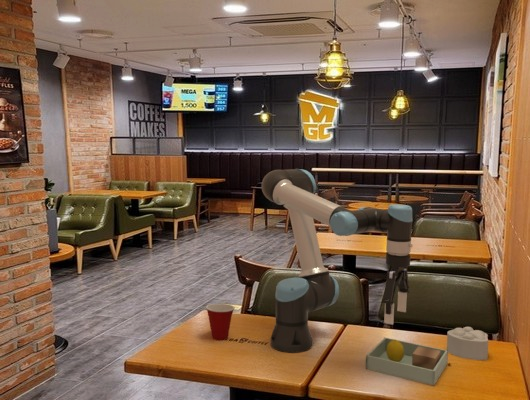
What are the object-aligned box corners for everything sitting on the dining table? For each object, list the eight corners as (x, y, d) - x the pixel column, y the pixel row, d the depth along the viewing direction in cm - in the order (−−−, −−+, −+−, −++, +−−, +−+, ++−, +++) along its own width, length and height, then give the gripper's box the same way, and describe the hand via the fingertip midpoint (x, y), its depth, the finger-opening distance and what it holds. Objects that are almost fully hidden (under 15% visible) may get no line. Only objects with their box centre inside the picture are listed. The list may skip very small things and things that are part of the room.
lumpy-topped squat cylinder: (487, 363, 164) (489, 338, 163) (446, 357, 169) (447, 332, 168) (486, 351, 173) (487, 327, 173) (447, 346, 178) (447, 322, 177)
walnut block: (411, 372, 156) (412, 353, 155) (417, 363, 162) (418, 346, 161) (434, 377, 152) (435, 358, 152) (439, 369, 158) (440, 350, 157)
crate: (365, 370, 158) (366, 355, 158) (384, 351, 173) (384, 337, 173) (433, 387, 147) (434, 371, 146) (447, 365, 162) (447, 350, 162)
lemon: (404, 367, 159) (404, 343, 158) (386, 366, 160) (387, 342, 159) (403, 360, 164) (403, 336, 164) (385, 359, 165) (386, 336, 165)
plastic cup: (240, 335, 188) (240, 304, 187) (223, 344, 179) (223, 312, 178) (218, 329, 194) (217, 300, 192) (200, 338, 185) (199, 307, 183)
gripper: (398, 262, 146) (394, 331, 148) (420, 247, 167) (417, 308, 170) (373, 258, 150) (370, 326, 152) (398, 245, 171) (395, 304, 173)
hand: (395, 317), depth 161 cm, fingers open, 13 cm apart
